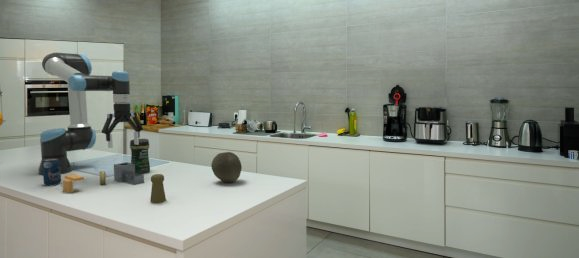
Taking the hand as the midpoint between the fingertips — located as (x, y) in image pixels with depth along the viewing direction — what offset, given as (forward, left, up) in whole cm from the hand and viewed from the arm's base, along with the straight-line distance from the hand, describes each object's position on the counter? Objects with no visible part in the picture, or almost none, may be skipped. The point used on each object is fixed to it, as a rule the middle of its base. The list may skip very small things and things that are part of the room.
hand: (123, 146), depth 180 cm
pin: (0, -11, -17) cm, 20 cm away
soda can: (-20, -25, -17) cm, 36 cm away
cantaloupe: (+44, +27, -17) cm, 55 cm away
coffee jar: (-9, +14, -17) cm, 24 cm away
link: (+4, 0, -17) cm, 18 cm away
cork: (+43, -11, -17) cm, 48 cm away
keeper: (0, -25, -17) cm, 30 cm away
